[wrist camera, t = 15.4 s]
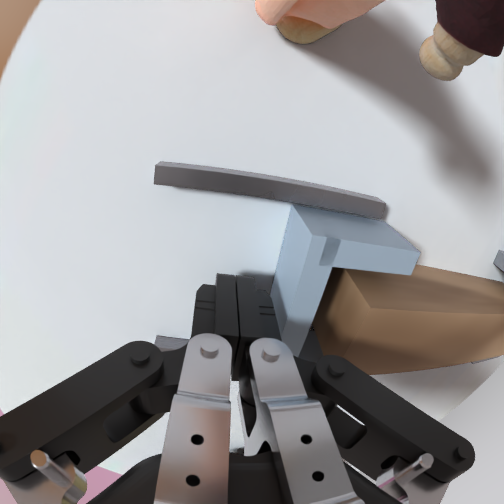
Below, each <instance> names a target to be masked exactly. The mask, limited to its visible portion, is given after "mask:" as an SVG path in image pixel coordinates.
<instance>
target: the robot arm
mask: <svg viewBox="0 0 504 504" xmlns="http://www.w3.org/2000/svg"><path fill="white" fill-rule="evenodd" d="M230 377H231V381H239V392H238V397H237V400H238V406H239V412H240V418H241V424H242V430H243V436H244V456H243V455H239V454H234V453H230V452H229V443H230V419H231V402H230V401H229V395H230ZM337 404H338V405H339V406H340V407H342V408H343V409H344V410H346V411H347V412H348V413H350V414H351V415H353V416H354V417H355V418H357V419H358V420H359V421H361V422H362V423H363V424H365V425H362V424H360V423H359V422H357V421H356V420H354V419H353V418H352V417H350V416H349V415H348V414H346V413H345V412H343V411H342V410H341V409H339V408H338V407H337ZM166 412H170V415H169V420H168V425H167V430H166V435H165V441H164V446H163V451H162V454H158V455H155V456H152V457H149V458H147V459H145V460H142V461H141V462H139V463H138V464H136V465H135V466H133V467H132V468H131V469H130V470H128V471H127V472H126V473H125V474H124V475H122V476H121V477H120V478H119V479H117V480H116V481H115V482H114V483H113V484H111V485H110V486H109V487H107V488H106V489H105V490H104V491H102V492H101V493H100V494H99V495H97V496H96V497H95V498H93V499H92V500H91V501H89V502H88V503H86V504H440V502H441V500H442V498H443V496H444V494H445V492H446V490H447V487H448V485H449V483H450V482H451V481H452V480H453V479H455V478H456V477H458V476H459V475H461V474H462V473H464V472H465V471H467V470H468V469H469V468H471V467H472V465H473V463H474V461H475V452H474V448H473V446H472V445H471V443H470V442H469V441H468V440H466V439H465V438H463V437H462V436H460V435H458V434H457V433H455V432H454V431H452V430H450V429H449V428H447V427H446V426H444V425H443V424H441V423H440V422H438V421H436V420H435V419H433V418H432V417H430V416H429V415H427V414H426V413H424V412H423V411H421V410H420V409H418V408H417V407H415V406H414V405H412V404H411V403H409V402H408V401H406V400H405V399H403V398H402V397H400V396H399V395H397V394H396V393H394V392H393V391H391V390H390V389H388V388H387V387H385V386H384V385H382V384H381V383H379V382H378V381H376V380H375V379H374V378H372V377H371V376H369V375H368V374H366V373H365V372H363V371H362V370H361V369H359V368H358V367H356V366H355V365H353V364H352V363H351V362H349V361H348V360H346V359H345V358H343V357H340V356H337V355H325V356H323V357H321V358H320V359H319V360H318V361H317V363H315V362H312V361H308V360H304V359H301V358H298V357H296V356H294V355H292V352H291V350H290V348H289V347H288V346H287V345H286V344H285V343H283V342H282V339H281V335H280V330H279V326H278V322H277V318H276V313H275V309H274V305H273V301H272V298H271V297H270V296H269V294H268V293H267V292H266V291H265V290H256V287H255V281H254V277H247V276H237V275H236V276H235V275H228V274H219V273H217V276H216V283H215V285H207V284H203V285H202V286H201V287H200V288H199V289H198V290H197V293H196V301H195V309H194V317H193V325H192V334H191V338H190V340H189V342H188V343H187V344H186V345H184V346H183V347H181V348H179V349H176V350H171V351H164V352H161V350H160V349H159V348H158V347H157V346H155V345H154V344H152V343H149V342H146V341H134V342H130V343H128V344H126V345H124V346H122V347H121V348H119V349H117V350H115V351H114V352H112V353H110V354H109V355H107V356H105V357H104V358H102V359H100V360H98V361H97V362H95V363H93V364H92V365H90V366H88V367H87V368H85V369H83V370H81V371H80V372H78V373H76V374H74V375H73V376H71V377H69V378H68V379H66V380H64V381H62V382H61V383H59V384H57V385H55V386H54V387H52V388H50V389H48V390H47V391H45V392H43V393H41V394H40V395H38V396H36V397H34V398H33V399H31V400H29V401H27V402H26V403H24V404H22V405H20V406H18V407H17V408H15V409H13V410H11V411H10V412H8V413H6V414H4V415H3V416H1V417H0V478H1V479H2V480H3V481H4V482H5V484H6V486H7V487H8V489H9V491H10V492H11V494H12V495H13V497H14V499H15V500H16V502H17V503H18V504H77V502H78V501H79V500H80V499H81V498H82V497H83V496H84V494H85V492H86V490H87V481H86V478H85V476H84V474H85V473H87V472H88V471H90V470H91V469H93V468H94V467H95V466H97V465H98V464H100V463H101V462H103V461H104V460H105V459H107V458H108V457H110V456H111V455H112V454H114V453H115V452H117V451H118V450H119V449H121V448H122V447H123V446H125V445H126V444H127V443H129V442H130V441H131V440H133V439H134V438H135V437H137V436H138V435H139V434H141V433H142V432H143V431H145V430H146V429H147V428H148V427H150V426H151V425H152V424H154V423H155V422H156V421H157V420H159V419H160V418H161V417H162V416H163V415H164V414H165V413H166ZM341 457H342V458H343V459H345V460H346V461H348V462H349V463H350V464H352V465H353V466H355V467H356V468H357V469H359V470H360V471H362V472H363V473H365V474H366V475H368V476H369V477H371V478H372V479H373V480H375V481H376V485H375V484H373V483H372V482H371V481H369V480H368V479H367V478H365V477H364V476H363V475H361V474H360V473H359V472H357V471H356V470H355V469H353V468H352V467H351V466H349V465H348V464H346V463H345V462H343V461H342V458H341Z"/></svg>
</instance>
